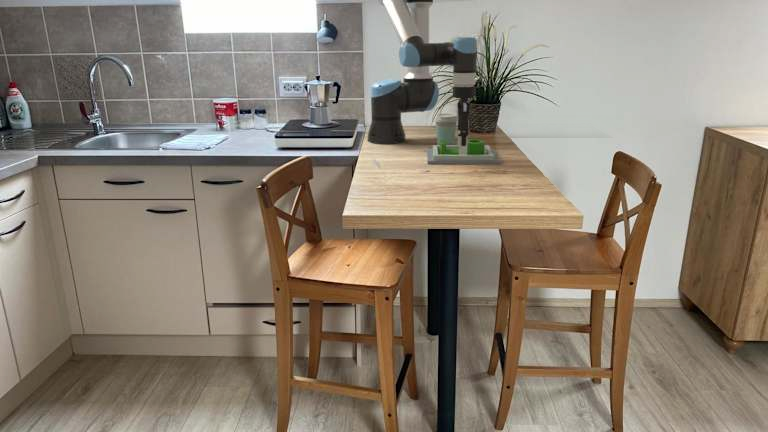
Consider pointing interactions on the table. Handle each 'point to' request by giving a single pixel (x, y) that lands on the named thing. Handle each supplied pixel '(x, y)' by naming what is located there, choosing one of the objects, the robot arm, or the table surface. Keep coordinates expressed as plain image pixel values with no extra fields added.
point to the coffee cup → (446, 128)
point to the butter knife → (375, 163)
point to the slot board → (461, 156)
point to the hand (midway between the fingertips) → (462, 152)
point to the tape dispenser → (472, 148)
